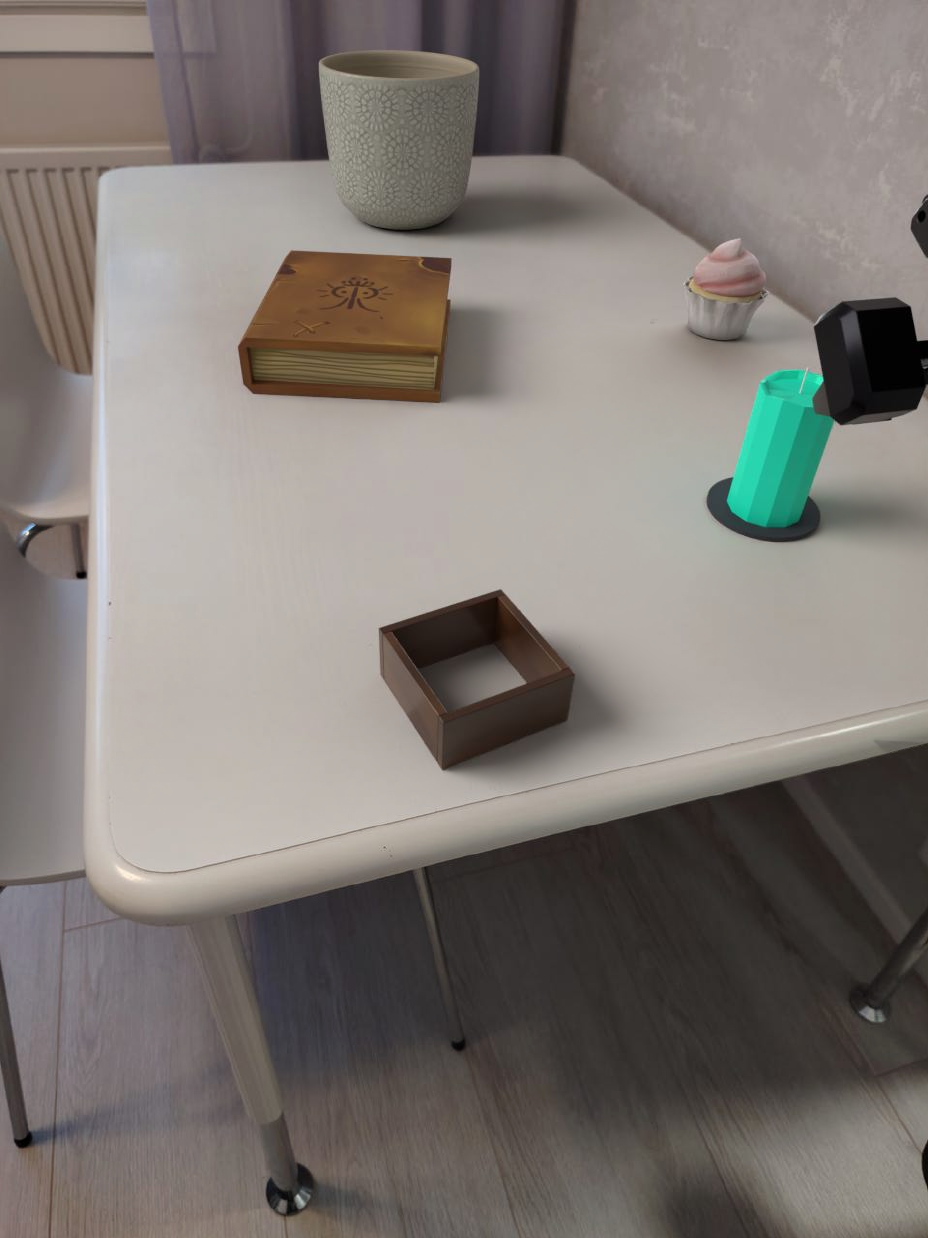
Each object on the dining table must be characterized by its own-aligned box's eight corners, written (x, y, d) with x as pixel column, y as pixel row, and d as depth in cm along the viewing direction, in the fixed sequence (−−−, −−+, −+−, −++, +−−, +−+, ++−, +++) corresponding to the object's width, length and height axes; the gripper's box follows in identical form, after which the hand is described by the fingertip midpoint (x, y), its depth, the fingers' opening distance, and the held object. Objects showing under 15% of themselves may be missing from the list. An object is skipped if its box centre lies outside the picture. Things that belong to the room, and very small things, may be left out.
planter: (298, 221, 122) (284, 63, 109) (384, 188, 135) (381, 44, 123) (421, 252, 114) (421, 85, 101) (499, 214, 128) (508, 63, 115)
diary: (289, 301, 100) (284, 249, 96) (450, 308, 100) (451, 257, 96) (244, 393, 83) (236, 334, 79) (439, 402, 83) (440, 344, 79)
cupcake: (760, 351, 94) (786, 257, 87) (674, 341, 95) (693, 247, 89) (756, 318, 101) (779, 229, 94) (675, 309, 102) (693, 220, 96)
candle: (775, 482, 73) (818, 346, 65) (817, 521, 69) (869, 381, 61) (713, 491, 72) (749, 354, 64) (752, 532, 67) (796, 390, 59)
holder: (567, 720, 52) (575, 673, 50) (441, 770, 49) (443, 723, 47) (497, 634, 58) (501, 588, 55) (380, 674, 55) (378, 627, 52)
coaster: (843, 524, 69) (844, 520, 69) (759, 553, 66) (760, 549, 66) (764, 470, 75) (765, 466, 75) (683, 494, 72) (684, 490, 72)
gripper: (1217, 125, 43) (973, 270, 59) (901, 134, 39) (727, 288, 55) (1261, 340, 43) (1003, 430, 58) (946, 372, 39) (758, 460, 54)
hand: (877, 399), depth 56 cm, fingers open, 9 cm apart
